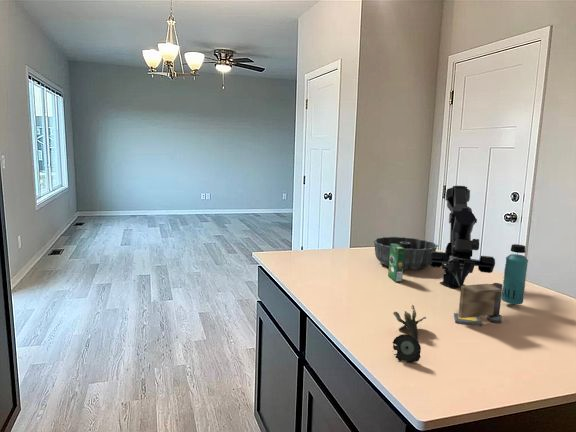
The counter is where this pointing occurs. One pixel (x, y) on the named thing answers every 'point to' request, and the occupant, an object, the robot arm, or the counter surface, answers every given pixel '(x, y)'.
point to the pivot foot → (494, 318)
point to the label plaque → (468, 320)
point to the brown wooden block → (480, 300)
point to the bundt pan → (414, 251)
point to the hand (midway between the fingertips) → (460, 285)
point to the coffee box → (396, 262)
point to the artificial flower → (408, 339)
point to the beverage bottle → (515, 276)
